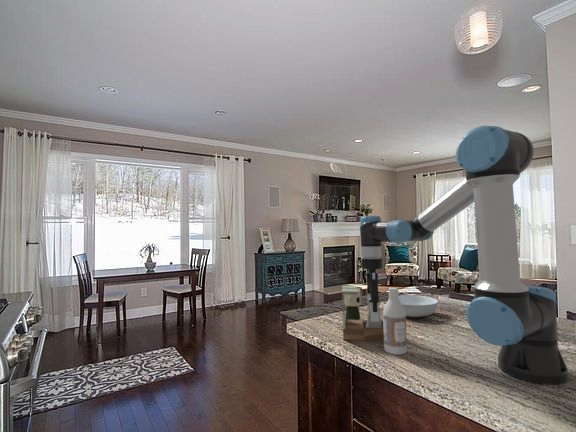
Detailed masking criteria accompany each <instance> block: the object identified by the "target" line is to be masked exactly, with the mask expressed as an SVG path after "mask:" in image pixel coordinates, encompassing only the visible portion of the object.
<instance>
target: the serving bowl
mask: <svg viewBox="0 0 576 432" xmlns="http://www.w3.org/2000/svg"><path fill="white" fill-rule="evenodd" d="M398 299H399V301H400V303H401V304H402V306H403V307H404V310H405V314H406V318H407V317H408V318H423V317H427V316H430V315H432V314H434V313H435V312H436V311H437V309H438V306H439V300H438V299H437V298H434V297H431V296H424V295H414V294H413V295H412V294H410V295H409V294H402V295H398ZM388 300H389V298H388ZM388 300H387V301H388Z"/></svg>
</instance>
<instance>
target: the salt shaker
mask: <svg viewBox="0 0 576 432" xmlns="http://www.w3.org/2000/svg"><path fill="white" fill-rule="evenodd" d="M369 300H371V298H370V299H369ZM369 300H368V299H367V305H368V304H369V305H370V302H369ZM380 305H381V300H380V299H379V306H380ZM366 320H367V324H366V328H382V324H381V320H382V319H381V313H380V310H379V321H371V306H370V308H369V311H368V315H367V319H366Z"/></svg>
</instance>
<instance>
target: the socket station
mask: <svg viewBox="0 0 576 432" xmlns="http://www.w3.org/2000/svg"><path fill="white" fill-rule="evenodd" d="M357 289H358V287H357V285H342V286H341V296H342V297H341V301H342V302H341V304H342V338H343V339H342V341H351V342H352V341H353V342H354V341H356V342H373V343H374V342H381V343H384V330H383V319H381V324H382V328H366V324H367V319H360V320H347V319H345V316H346V305H345V295H358V290H357Z"/></svg>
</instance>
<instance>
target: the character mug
mask: <svg viewBox="0 0 576 432" xmlns="http://www.w3.org/2000/svg"><path fill="white" fill-rule="evenodd" d="M357 290H358V295H345V319H347V320H361V313H360V309H359V306H361V305H362V304H361V303H362V295H361V293H362V292H361V291H362V290H361V289H359V288H357Z"/></svg>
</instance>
